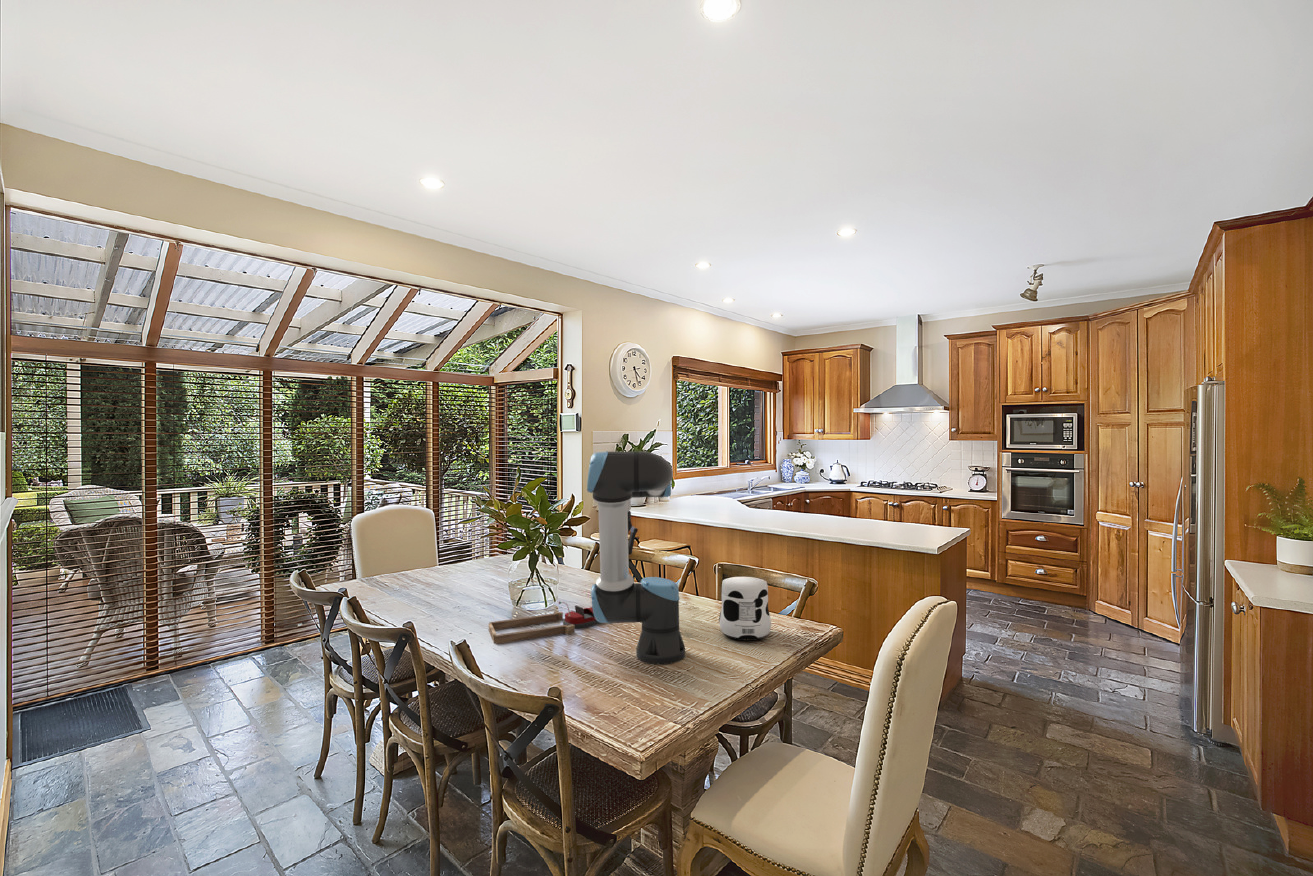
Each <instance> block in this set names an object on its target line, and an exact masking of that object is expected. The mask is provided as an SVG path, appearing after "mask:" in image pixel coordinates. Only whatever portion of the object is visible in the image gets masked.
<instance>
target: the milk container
mask: <svg viewBox="0 0 1313 876" xmlns="http://www.w3.org/2000/svg"><path fill="white" fill-rule="evenodd" d="M768 586H769V585H768V582H767V581H766V580H765V579H762V578H758V577H754V576H753V577H752V576H733V577H729V578H724V579H723V580H722V584H721V594H720V595H721V609H720V612H719V618H718V621H719V623H718V624H719V627H720V631H721V633H722V634H724V635H725V637H728V638H730V639H734V640H740V641H755V640H761V639H763V638H765V637H767V636H768V635H769V634H770V632H771V627H772V619H771V614H770V611H769V587H768Z"/></svg>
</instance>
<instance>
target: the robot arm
mask: <svg viewBox="0 0 1313 876" xmlns="http://www.w3.org/2000/svg"><path fill="white" fill-rule="evenodd" d="M590 456H591V457H590V462H589V467H588V475H587V485H586V486H587V487H586V491H587V493H590V494H592V499H593V501H595V502H596V503H597V504H598V505H597V508H598V510H597V511H598V535H599V537H598V538H599V569H600V575H599V576H598V577H597V578H596V580H595V583H594V584H592V585H591V589H590V590H591V591H590V597H591V607H592V608H593V613H594V617H595V619H596V620H597V621H598V622H600V624H625V623H626V624H627V623H629V624H630V623H631V624H632V623H641V632H640V635H639V637H638V641H637V644H636V648H635V650H636V651H635V653H636V655H635V656H636V658H637V659H638V660H639V661H640V662H643V663H646V664H650V665H670V664H674V663H679V662H680V661H682V660H683V659H685V657H686V647H685V643H684V640H683V637H682V634H681V632H680V603H679V601H680V599H681V598H680V596H679V595H680V593H679V590H680V589H679V586H678V584H677V583H676V582H675V581H673V580H671V579H669V578H663V577H659V576H648V577H643V578H642V579H641V580H640V582H639V583H637V582H635V579H634V576H632V574H630V571H629V570H630V569H629V568H630V567H629V566H630V565H629V555H632V553H633V550H634V544H635V538H636V534H637V532H638V530H639V529H638V528H636V527H635V526H633V524H632V511H630V510H631V509H632V507H631V506H632V503H631V502H632V498H639V499H640V498H660V499H661V498H669V497H670V496H671V495H672V480H673V475H674V474H673V473H674V471H673V468H672V465H671V464H670V462H668V460H666V459H665V458H664V457H662V456H661V455H658V454H656V453H653V452H650V451H643V450H642V451H641V450H638V451H600V452H599V451H598V452H594V453H593V454H592V455H590ZM629 533H630V534H629Z"/></svg>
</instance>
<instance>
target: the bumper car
mask: <svg viewBox="0 0 1313 876" xmlns="http://www.w3.org/2000/svg"><path fill="white" fill-rule="evenodd" d="M558 604H559V605H561V604H565V606H567V607H566V608H567V611H568V612H565V614H564V620H563V622H562V625H567V626H568V625H571V624H572V625H575V630H581V629H585V628H589V627H590V628H591V627H593V626H597V625H601V623H600V622H598V621H597V620H596V619H595V617H594V613H593V608H592V606H590V607H584V608H583V607H581V606H579V605H576V604H575V605H574V610H575V611H573V610H571V611H570V607H569V605H568V604H567V603H566V602H565V601H561V600H560V601H558Z"/></svg>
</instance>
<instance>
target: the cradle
mask: <svg viewBox="0 0 1313 876" xmlns="http://www.w3.org/2000/svg"><path fill="white" fill-rule="evenodd" d="M563 619H564V613H563V611H554V612H553V613H549V614H548V613H547V614H541V615H534V616H532V615H531V616H525V617H519V618H517V617H516V618H511V619H503V620H497V621H489V623H488V632H489V635H490V637H491V640H492V641H493V644H496V645H499V644H500V645H501V644H506V643H512V642H519V641H524V640H530V639H539V638H547V637H552V636H558V635H571V634H574V633H576V632H575V631H576V629H575V625H572V624H571V625H568V626H567V625H563V624H562V625H555V626H548V627H542V628H534V629H528V630H522V631H514V632H507V633H501V634H497V632H496V630H503V629H511V628H518V627H524V626H530V625H531V626H532V625H538V624H545V623H552V622H558V621H563Z"/></svg>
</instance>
